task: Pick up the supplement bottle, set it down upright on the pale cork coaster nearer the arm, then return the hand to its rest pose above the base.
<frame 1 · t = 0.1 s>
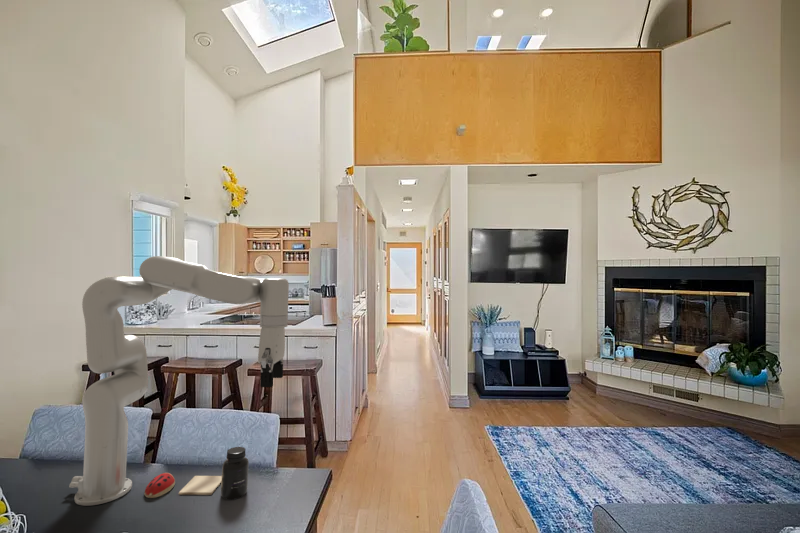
hand: (272, 382, 108), 31 cm above the table, fingers open, 9 cm apart
cork coaster: (203, 485, 111), on the table
ladybug figurine: (160, 491, 108), on the table
supplement bottle: (234, 494, 107), on the table
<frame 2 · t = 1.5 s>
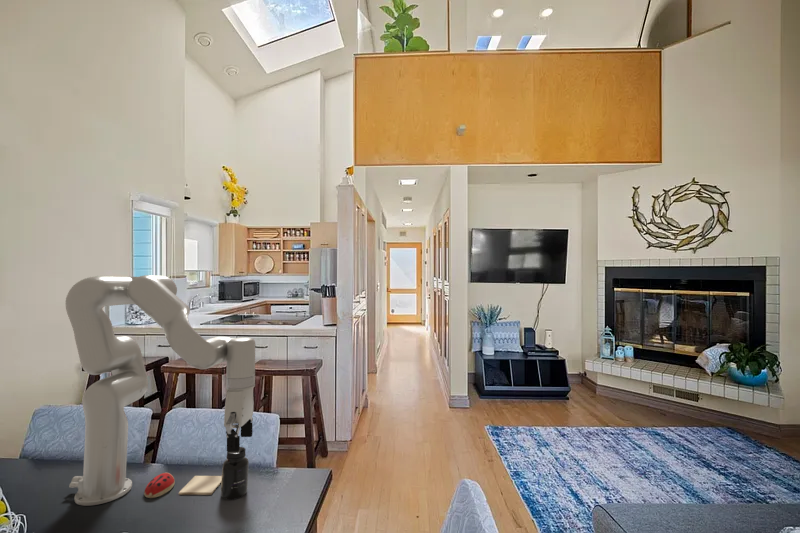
hand: (240, 443, 107), 14 cm above the table, fingers open, 9 cm apart
nothing on the table moved.
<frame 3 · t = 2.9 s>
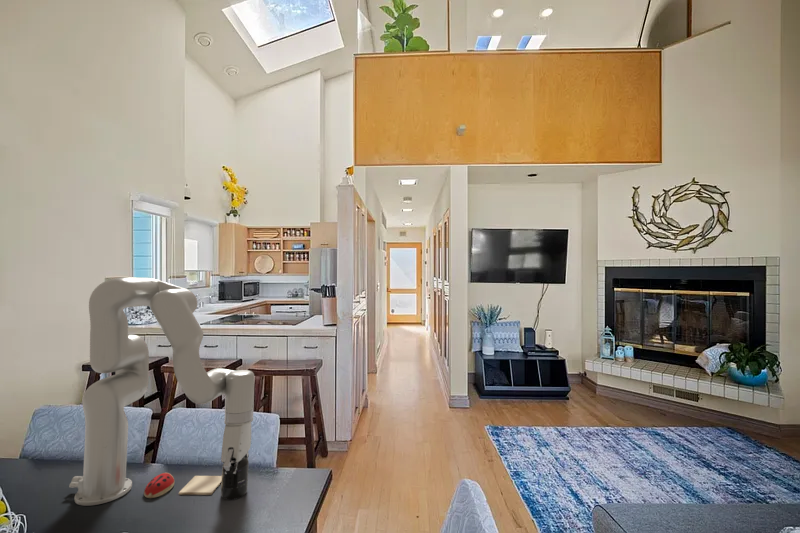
hand: (236, 479, 107), 4 cm above the table, fingers closed on supplement bottle, 6 cm apart
supplement bottle: (234, 494, 107), on the table, touching gripper
everything else where it was.
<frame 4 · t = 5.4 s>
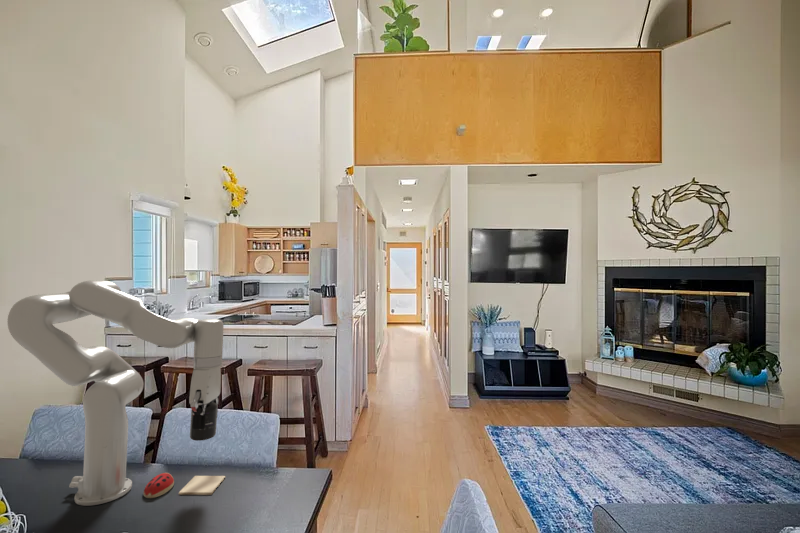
hand: (205, 423, 111), 18 cm above the table, fingers closed on supplement bottle, 6 cm apart
supplement bottle: (203, 437, 111), point 14 cm above the table, touching gripper
everything else where it was.
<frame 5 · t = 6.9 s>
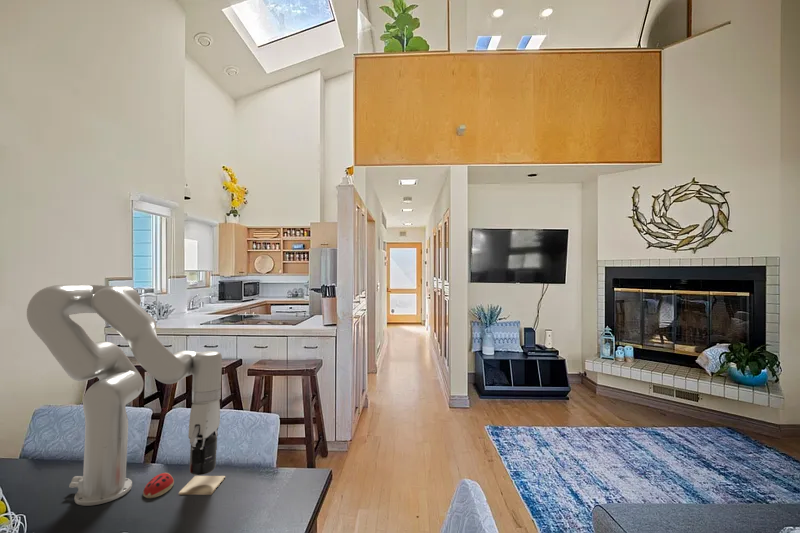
hand: (204, 456, 111), 8 cm above the table, fingers closed on supplement bottle, 6 cm apart
supplement bottle: (202, 470, 111), point 4 cm above the table, touching gripper
everything else where it was.
when the fingers open (6 cm above the table, at t = 8.0 s): supplement bottle drops 1 cm, resting on cork coaster.
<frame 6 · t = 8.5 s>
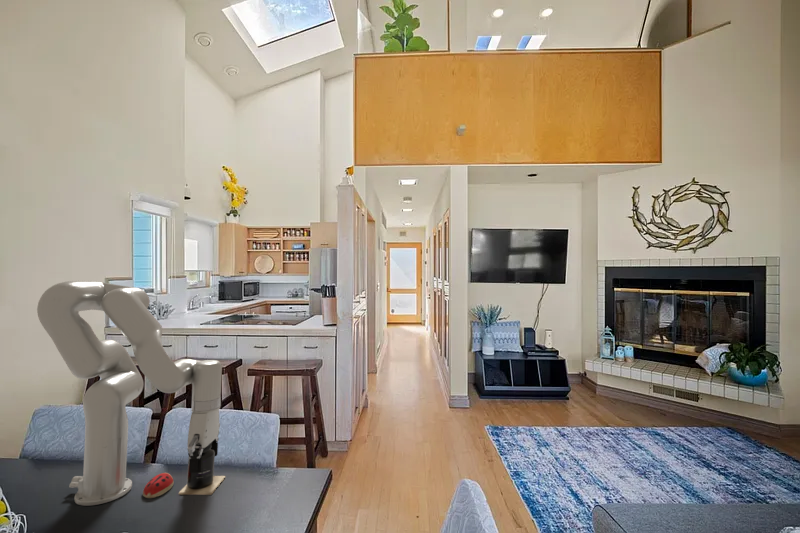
hand: (203, 463, 111), 6 cm above the table, fingers open, 9 cm apart
supplement bottle: (200, 484, 110), resting on cork coaster
everything else where it was.
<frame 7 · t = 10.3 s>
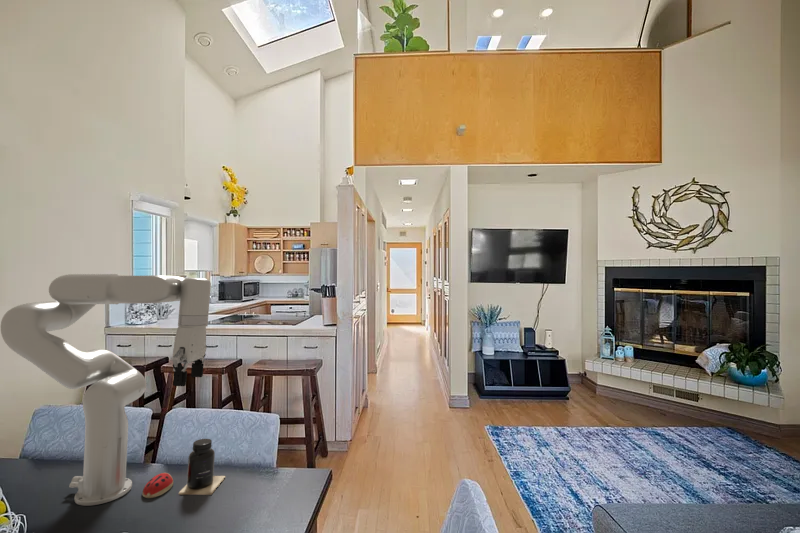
hand: (188, 381, 109), 31 cm above the table, fingers open, 9 cm apart
nothing on the table moved.
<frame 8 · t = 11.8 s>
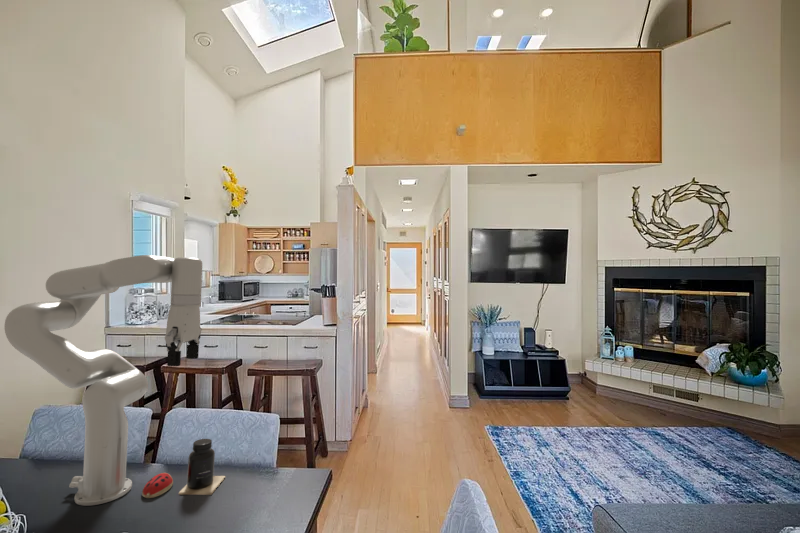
hand: (183, 361, 108), 36 cm above the table, fingers open, 9 cm apart
nothing on the table moved.
at the end: supplement bottle inside the target area on the cork coaster (0.7 cm from its centre), point 0.4 cm above the cork coaster's base; supplement bottle tilted 0°; the gripper is holding nothing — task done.
